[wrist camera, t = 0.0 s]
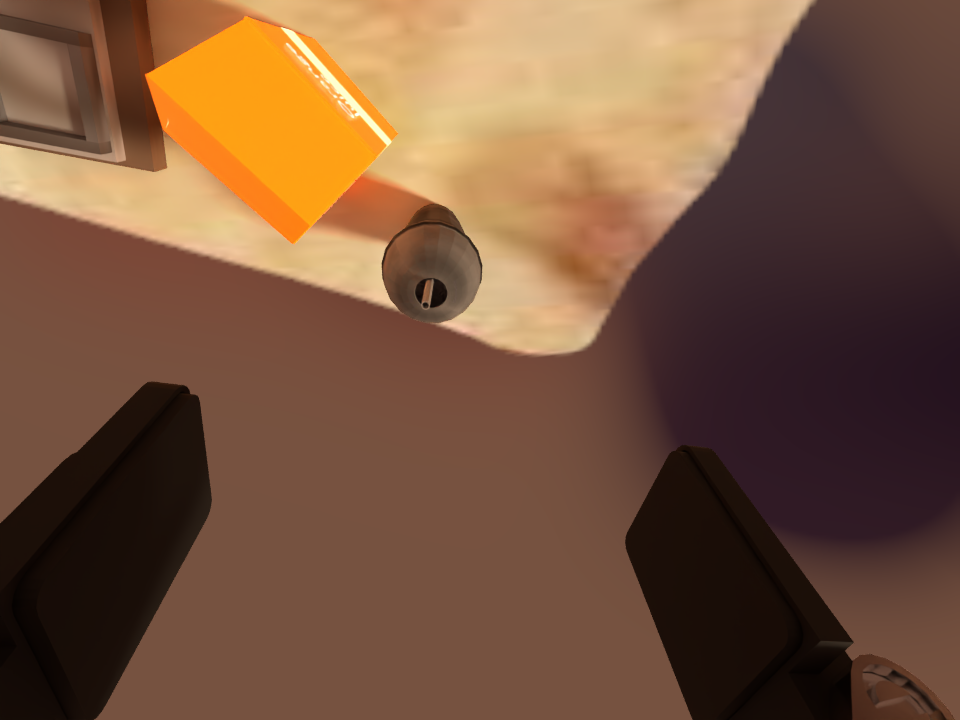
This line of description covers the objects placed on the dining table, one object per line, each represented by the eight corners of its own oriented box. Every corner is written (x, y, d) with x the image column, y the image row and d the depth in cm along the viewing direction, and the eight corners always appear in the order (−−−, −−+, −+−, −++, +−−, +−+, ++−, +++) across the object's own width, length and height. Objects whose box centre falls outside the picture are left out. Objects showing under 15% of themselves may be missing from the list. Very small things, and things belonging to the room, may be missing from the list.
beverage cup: (404, 271, 45) (379, 385, 28) (388, 193, 42) (348, 272, 24) (478, 261, 45) (498, 370, 28) (468, 183, 42) (486, 254, 24)
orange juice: (315, 36, 35) (194, -5, 18) (399, 133, 39) (365, 173, 22) (253, 113, 38) (94, 140, 21) (338, 197, 41) (264, 279, 24)
